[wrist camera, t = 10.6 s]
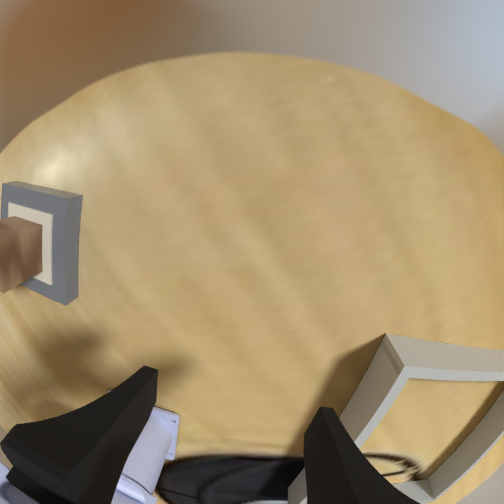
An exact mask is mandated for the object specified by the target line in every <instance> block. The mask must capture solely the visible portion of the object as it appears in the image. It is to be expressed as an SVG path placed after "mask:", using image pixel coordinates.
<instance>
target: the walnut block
mask: <svg viewBox="0 0 504 504" xmlns="http://www.w3.org/2000/svg"><path fill="white" fill-rule="evenodd" d="M42 226H43V225H41V224H38V223H35V222H32V221H29V220H26V219H23V218H19V217H16V216H12V217H8V218H5V219H2V220H0V292H2V293H5V292H7V291H8V290H10V289H12V288H13V287H15V286H17V285H19V284H21V283H22V282H24V281H26V280H28V279H29V278H31V277H33V276H35V275H37V274H39V273H40V272H42V271H43V264H42Z"/></svg>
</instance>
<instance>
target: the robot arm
mask: <svg viewBox="0 0 504 504" xmlns="http://www.w3.org/2000/svg"><path fill="white" fill-rule="evenodd" d="M157 376H158V370H157V369H154V368H151V367H148V366H143V367H142V368H140V369H139V370H138V371H137V372H136V373H134V374H133V375H132V376H131V377H129V378H128V379H127V380H125V381H124V382H123V383H121V384H120V385H118V386H117V387H116V388H114V389H113V390H109V391H108V392H107V394H105V395H103V396H102V397H100V398H98V399H97V400H95V401H93V402H91V403H89V404H87V405H85V406H83V407H81V408H79V409H77V410H74V411H72V412H69V413H67V414H64V415H61V416H58V417H54V418H50V419H46V420H42V421H38V422H31V423H24V424H16V425H15V426H14V427H13V428H12V429H11V430H10V431H9V433H8V434H7V435H6V437H5V438H4V439H3V440H2V441H1V443H0V445H1V449H2V450H3V452H4V454H5V455H6V456H7V458H8V459H9V461H10V462H11V464H12V465H13V467H12V469H11V470H9V468H8V467H6V466H5V465H4V464H3V463H2V462H0V504H156V501H157V498H156V497H154V496H152V495H153V492H154V489H155V486H156V484H157V481H158V478H159V475H160V472H161V470H162V467H163V464H164V461H165V458H166V459H169V460H174V458H175V451H176V443H177V434H178V426H179V419H180V417H179V415H177V414H176V413H173V412H169V411H166V410H163V409H160V408H157V407H154V405H155V402H156V394H157ZM304 464H305V475H306V487H307V504H420V503H419V502H417V501H415V500H413V499H411V498H410V497H408V496H407V495H405V494H404V493H402V492H401V491H400V490H398V489H397V488H396V487H394V486H393V485H392V484H391V483H390V482H388V481H387V480H386V479H385V478H384V477H383V476H382V475H381V474H380V473H379V472H378V471H377V470H376V469H375V468H374V467H373V466H372V465H371V464H370V462H369V461H368V460H367V459H366V458H365V456H364V455H363V454H362V452H361V451H360V450H359V448H358V447H357V446H356V444H355V443H354V441H353V440H352V438H351V437H350V435H349V434H348V432H347V431H346V429H345V427H344V426H343V424H342V422H341V421H340V419H339V417H338V416H337V414H336V412H335V411H334V409H333V408H327V407H320V408H319V410H318V412H317V413H316V415H315V417H314V419H313V420H312V422H311V424H310V425H309V427H308V429H307V430H306V432H305V434H304Z"/></svg>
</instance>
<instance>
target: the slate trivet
mask: <svg viewBox="0 0 504 504" xmlns="http://www.w3.org/2000/svg"><path fill="white" fill-rule="evenodd" d="M82 197H83V195H79V194H74V193H70V192H65V191H60V190H56V189H51V188H47V187H42V186H37V185H33V184H28V183H23V182H18V181H14V182H8V183H2V199H1V220H2V219H5V218H8V217H12V216H16V217H19V218H23V219H26V220H29V221H32V222H35V223H38V224H41V225H43V226H42V264H43V271H42V272H40V273H39V274H37V275H35V276H33V277H31V278H29V279H28V280H26V281H24V282H22V283H21V285H23V286H25V287H27V288H29V289H31V290H33V291H35V292H37V293H39V294H41V295H44V296H46V297H48V298H50V299H52V300H54V301H57V302H59V303H61V304H63V305H67V304H69V303H70V302H71V301H73V300H74V299H75V298H77V297H78V249H79V230H80V217H81V206H82Z"/></svg>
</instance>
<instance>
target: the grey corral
mask: <svg viewBox="0 0 504 504" xmlns="http://www.w3.org/2000/svg"><path fill="white" fill-rule="evenodd" d="M409 378H418V379H432V380H452V381H504V350H494V349H486V348H478V347H470V346H462V345H455V344H448V343H441V342H434V341H428V340H422V339H415V338H409V337H403V336H398V335H392V334H385V336H384V338H383V340H382V342H381V344H380V346H379V348H378V350H377V352H376V354H375V356H374V358H373V360H372V362H371V364H370V366H369V367H368V369H367V371H366V373H365V375H364V377H363V378H362V380H361V382H360V384H359V386H358V387H357V389H356V391H355V392H354V394H353V396H352V398H351V399H350V401H349V403H348V404H347V406H346V407H345V409H344V411H343V412H342V414H341V415H340V417H339V419H340V421H341V422H342V424H343V426H344V427H345V429H346V431H347V432H348V434H349V435H350V437H351V438H352V440H353V441H354V443H355V444H356V446H357V447H358V448H360V447H361V446H362V444H363V443H364V442H365V441H366V439H367V438H368V437H369V436H370V434H371V433H372V432H373V430H374V429H375V428H376V426H377V425H378V424H379V422H380V421H381V420H382V418H383V417H384V415H385V414H386V412H387V411H388V410H389V408H390V407H391V405H392V404H393V402H394V401H395V399H396V398H397V396H398V395H399V393H400V392H401V390H402V388H403V387H404V385H405V384H406V382H407V380H408V379H409ZM503 434H504V390H503V391H502V393H501V394H500V396H499V397H498V399H497V400H496V401H495V403H494V404H493V406H492V407H491V408H490V410H489V411H488V412H487V414H486V415H485V416H484V418H483V419H482V420H481V421H480V423H479V424H478V425H477V426H476V428H475V429H474V430H473V431H472V432H471V434H470V435H469V436H468V437H467V438H466V439H465V440H464V442H463V443H462V444H461V445H460V446H459V447H458V448H457V449H456V450H455V452H454V453H453V454H452V455H451V456H450V457H449V458H448V459H447V460H446V461H445V462H444V463H443V464H442V465H441V466H440V467H439V468H438V469H437V470H436V471H435V472H434V473H433V474H432V475H430V476H429V477H428V478H427V479H424V480H418V481H411V482H404V483H396V484H392V485H393V486H394V487H396V488H397V489H398V490H400V491H401V492H402V493H404V494H405V495H407V496H408V497H410V498H411V499H413V500H415V501H417V502H419V503H420V504H425V503H429V502H433V501H435V500H436V499H438V498H439V497H440V496H441V495H443V494H444V493H445V492H446V491H447V490H449V489H450V488H451V487H452V486H453V485H454V484H455V483H457V482H458V481H459V480H460V479H461V478H462V477H463V476H464V475H465V474H466V473H468V472H469V471H470V470H471V469H472V468H473V467H474V466H475V465H476V464H477V463H478V462H479V461H480V460H481V459H482V458H483V457H484V456H485V455H486V453H487V452H488V451H489V450H490V449H491V448H492V447H493V446H494V445H495V444H496V442H497V441H498V440H499V439H500V438H501V437H502V436H503ZM288 504H307V487H306V475H305V467H304V469H303V470H302V471H301V472H300V474H299V475H298V476H297V477H296V479H295V480H294V481H293V482H292V484H291V485H290V486H289V487H288Z"/></svg>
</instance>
